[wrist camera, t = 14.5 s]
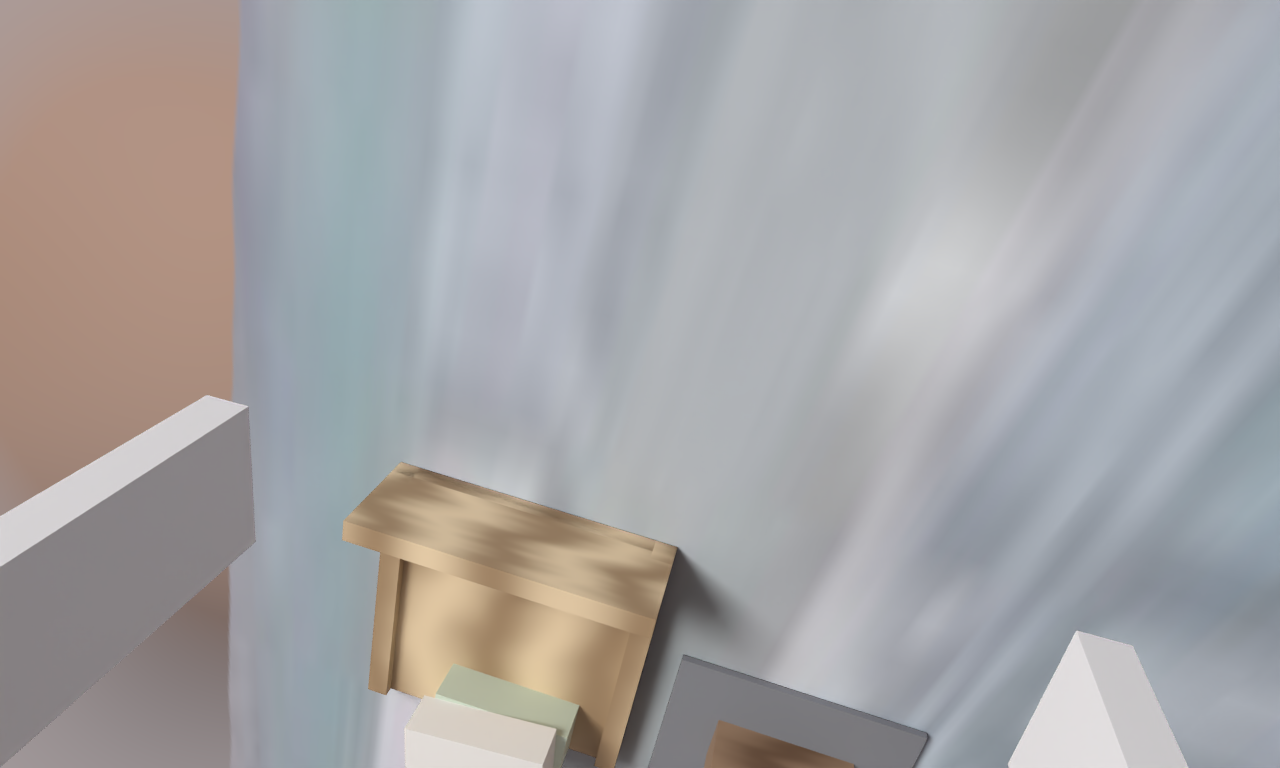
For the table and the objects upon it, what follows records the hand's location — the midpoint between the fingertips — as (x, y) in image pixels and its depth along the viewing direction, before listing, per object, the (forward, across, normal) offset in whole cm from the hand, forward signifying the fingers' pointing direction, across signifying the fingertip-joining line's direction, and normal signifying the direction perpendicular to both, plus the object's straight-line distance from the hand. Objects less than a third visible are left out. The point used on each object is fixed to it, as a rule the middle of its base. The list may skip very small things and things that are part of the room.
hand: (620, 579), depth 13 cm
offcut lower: (+25, -8, -32) cm, 41 cm away
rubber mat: (+26, +8, -30) cm, 41 cm away
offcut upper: (+22, -9, -32) cm, 40 cm away
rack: (+26, -9, -26) cm, 38 cm away
